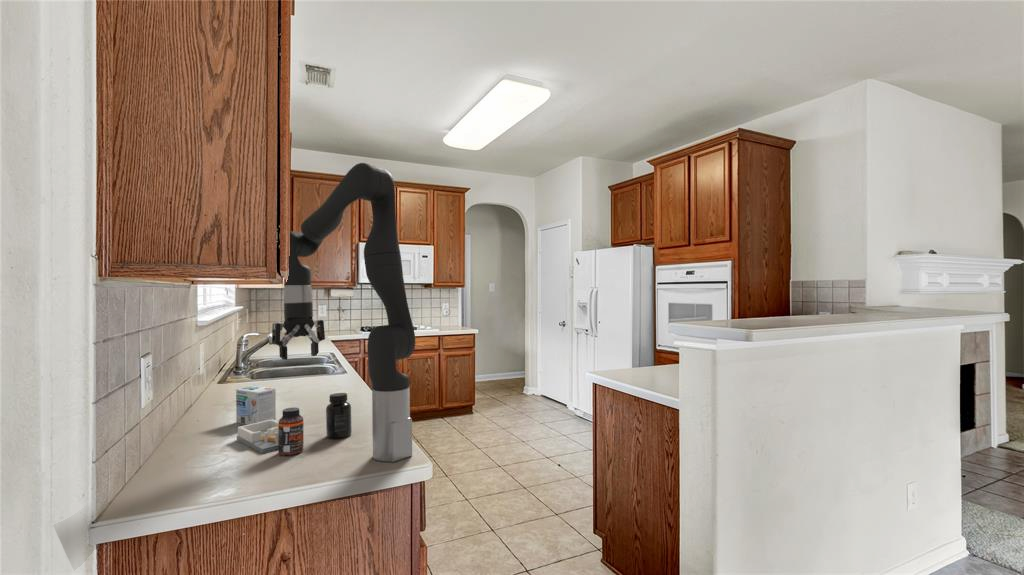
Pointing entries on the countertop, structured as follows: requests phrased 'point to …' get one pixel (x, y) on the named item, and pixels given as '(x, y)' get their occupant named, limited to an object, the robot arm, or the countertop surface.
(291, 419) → the supplement bottle
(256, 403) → the light bulb box
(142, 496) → the countertop surface
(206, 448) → the countertop surface
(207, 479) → the countertop surface
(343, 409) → the supplement bottle
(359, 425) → the countertop surface
